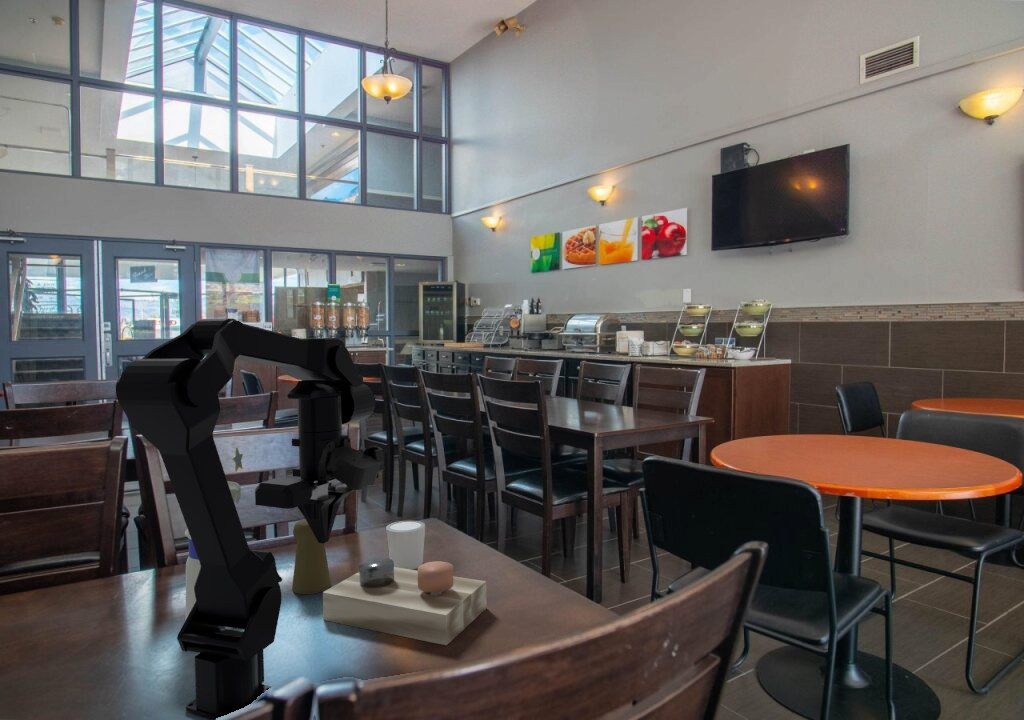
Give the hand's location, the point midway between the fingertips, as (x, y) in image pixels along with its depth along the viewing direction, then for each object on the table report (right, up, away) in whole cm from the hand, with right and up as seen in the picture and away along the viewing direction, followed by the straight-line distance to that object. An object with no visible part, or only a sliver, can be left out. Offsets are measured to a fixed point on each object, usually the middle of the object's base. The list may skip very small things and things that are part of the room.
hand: (323, 542), depth 86 cm
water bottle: (-16, -12, +3) cm, 21 cm away
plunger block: (+11, -12, +5) cm, 16 cm away
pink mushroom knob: (+15, -11, +3) cm, 19 cm away
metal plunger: (+6, -11, +7) cm, 14 cm away
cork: (-7, -12, +15) cm, 20 cm away
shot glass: (+7, -11, +25) cm, 28 cm away
